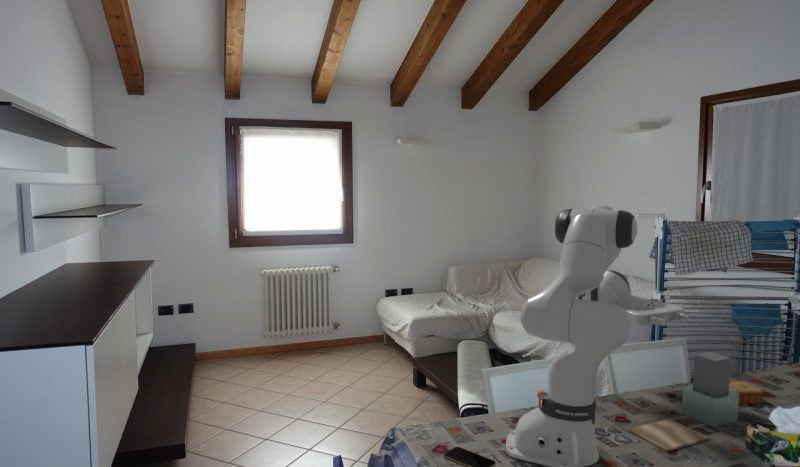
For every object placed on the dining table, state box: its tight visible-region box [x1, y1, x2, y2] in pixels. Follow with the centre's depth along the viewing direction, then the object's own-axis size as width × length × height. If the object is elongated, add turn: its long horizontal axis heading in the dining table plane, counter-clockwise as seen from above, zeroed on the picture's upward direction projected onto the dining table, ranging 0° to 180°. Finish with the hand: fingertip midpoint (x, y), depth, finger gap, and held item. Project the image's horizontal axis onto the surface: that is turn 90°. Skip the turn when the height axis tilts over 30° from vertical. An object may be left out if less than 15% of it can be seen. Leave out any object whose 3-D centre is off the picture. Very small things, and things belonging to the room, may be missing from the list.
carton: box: [729, 381, 764, 404], centre depth 165 cm, size 8×16×4 cm, turn 92°
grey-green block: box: [681, 383, 740, 428], centre depth 151 cm, size 10×10×12 cm
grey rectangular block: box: [692, 351, 732, 396], centre depth 150 cm, size 6×6×10 cm
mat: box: [627, 418, 710, 453], centre depth 140 cm, size 16×12×1 cm
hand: (676, 321), depth 160 cm, fingers open, 8 cm apart
